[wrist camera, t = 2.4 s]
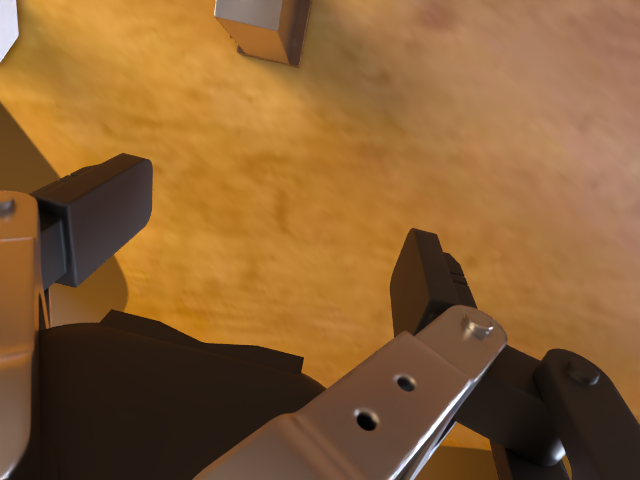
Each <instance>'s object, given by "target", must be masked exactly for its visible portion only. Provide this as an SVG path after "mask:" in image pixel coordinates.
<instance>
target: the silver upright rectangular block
mask: <svg viewBox="0 0 640 480" xmlns="http://www.w3.org/2000/svg"><path fill="white" fill-rule="evenodd" d="M311 3H312V0H216V2H215V10H214V17H215V18H216V19H217V21H218V22H219V23H220V24H221V25H222V26H223V28H224V29H225V30H226V31H227V32H228V33H229V34H230V37H231V38H233V39H234V40H235V41H236V43H237V44H238V47H237V52H238V53H239V54H241V55H245V56H250V57H254V58H258V59H263V60H267V61H271V62H276V63H280V64H284V65H289V66H293V67H297V68H299V67H300V62H301V57H302V51H303V46H304V41H305V35H306V30H307V24H308V19H309V14H310V8H311Z"/></svg>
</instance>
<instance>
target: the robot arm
mask: <svg viewBox="0 0 640 480" xmlns="http://www.w3.org/2000/svg"><path fill="white" fill-rule="evenodd" d="M152 178H153V168H152V163H151V161H150V160H149V159H145V158H141V157H137V156H133V155H129V154H125V153H121V154H119V155H117V156H115V157H113V158H111V159H109V160H107V161H105V162H103V163H101V164H98V165H93V166H89V167H84V168H82V169H79V170H77V171H75V172H73V173H71V174H70V176H69V175H67V176H65V177H63V178H61V179H60V180H59V181H55V182H53V183H51V184H49V185H47V186H45V187H43V188H40V189H38V190H37V191H34V192H33V193H30V194H25V193H21V192H15V191H0V480H414V478H415V477H416V476H417V474H418V473H419V471H420V470H421V469H422V467H423V466H424V464H425V463H426V462H427V461H428V459H429V458H430V457H431V455H432V454H433V453H434V451H435V450H436V449H437V447H438V446H439V445H440V443H441V442H442V441H443V439H444V438H445V437H446V435H447V434H448V433H449V431H450V430H451V429H452V427H453V426H454V425H455V423H456V422H458V423H460V424H462V425H464V426H466V427H468V428H469V429H471V430H473V431H475V432H477V433H479V434H481V435H482V436H484V437H486V438H488V439H489V440H490V445H491V449H492V453H493V457H494V461H495V465H496V469H497V474H498V478H499V480H570V479H569V476H568V474H567V471H566V469H565V466H564V464H563V461H562V459H561V458H562V457H563V456H564V455H565V454H566V455H567V458H568V460H569V463H570V466H571V470H572V480H640V425H639V423H638V422H637V420H636V419H635V417H634V416H633V414H632V412H631V411H630V409H629V408H628V406H627V405H626V403H625V401H624V400H623V398H622V397H621V395H620V394H619V392H618V390H617V389H616V387H615V386H614V384H613V383H612V381H611V380H610V379H609V377H608V376H607V375H606V374H605V373H604V372H603V371H602V370H601V369H599V368H598V367H597V366H596V365H594V364H593V363H592V362H590V361H589V360H587V359H585V358H584V357H582V356H580V355H578V354H576V353H573V352H571V351H568V350H564V349H551V350H549V351H548V352H547V353H546V355H545V356H544V357H543V359H542V360H541V361H539V360H537V359H535V358H533V357H531V356H529V355H527V354H524V353H522V352H520V351H518V350H516V349H514V348H512V347H510V346H508V345H507V344H506V343H507V335H506V332H505V331H504V329H503V328H502V327H501V325H500V324H499V323H498V322H497V321H496V320H494V319H493V318H492V317H490V316H489V315H488V314H486V313H484V312H482V311H480V310H478V309H477V306H476V304H475V301H474V299H473V296H472V294H471V291H470V289H469V286H467V285H468V284H467V281H466V279H465V277H464V274H463V271H462V269H461V266H460V264H459V263H458V262H457V261H456V260H455V259H454V258H453V257H452V256H451V255H450V254H449V253H445V252H443V251H442V248H441V245H440V242H439V239H438V236H437V234H434V233H430V232H426V231H422V230H418V229H415V228H412V229H411V230H410V231H409V233H408V235H407V237H406V240H405V242H404V245H403V248H402V250H401V253H400V255H399V258H398V260H397V263H396V265H395V268H394V271H393V274H392V277H391V282H390V296H391V307H392V318H393V329H394V338H393V339H392V340H391V341H390V342H388V343H387V344H386V345H384V346H383V347H382V348H380V349H379V350H378V351H376V352H375V353H374V354H372V355H371V356H370V357H368V358H367V359H366V360H364V361H363V362H362V363H361V364H359V365H358V366H357V367H355V368H354V369H353V370H351V371H350V372H349V373H347V374H346V375H345V376H343V377H342V378H341V379H339V380H338V381H337V382H336V383H334V384H333V385H332V386H330V387H329V388H328V389H326V388H325V387H324V386H322V385H321V384H320V383H319V382H317V381H315V380H314V379H312V378H311V377H309V376H307V375H305V374H303V373H302V372H301V370H302V365H303V360H304V357H300V356H296V355H292V354H288V353H284V352H280V351H276V350H272V349H268V348H264V347H260V346H253V345H233V344H213V343H204V342H201V341H198V340H196V339H194V338H192V337H190V336H188V335H186V334H184V333H182V332H180V331H178V330H176V329H174V328H172V327H170V326H168V325H166V324H164V323H162V322H160V321H156V320H152V319H148V318H144V317H140V316H136V315H132V314H128V313H124V312H120V311H116V310H111V311H110V312H109V313H108V314H107V315H106V316H105V317H104V318H103V319H102V320H101V322H100V323H76V324H67V325H62V326H56V327H52V317H51V296H50V289H49V286H51V285H52V284H53V283H54V282H55V283H59V284H63V285H67V286H71V287H75V288H76V287H77V286H79V285H80V284H81V283H82V282H83V281H84V280H85V279H86V278H88V277H89V276H90V275H91V274H92V273H93V272H94V271H95V270H96V269H98V268H99V267H100V266H101V265H102V264H103V263H104V262H106V260H108V259H109V258H110V257H111V256H112V255H113V254H115V253H116V252H117V251H118V250H119V249H120V248H121V247H122V246H124V245H125V244H126V243H127V242H128V241H129V240H130V239H131V238H133V237H134V236H135V235H136V234H137V233H138V232H139V231H140V230H142V229H143V228H144V227H145V226H146V224H147V223H148V221H149V218H150V216H151V211H152Z"/></svg>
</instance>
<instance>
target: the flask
mask: <svg viewBox="0 0 640 480" xmlns="http://www.w3.org/2000/svg"><path fill="white" fill-rule="evenodd" d="M18 36H19V34H18V21H17V7H16V0H0V62H1V61H2V59H3V58H4V56H5V55H6V53H7V52H8V50H9V49H10V47H11V46H12V45H13V43H14V42H15V40H16V39H17V37H18Z"/></svg>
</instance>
